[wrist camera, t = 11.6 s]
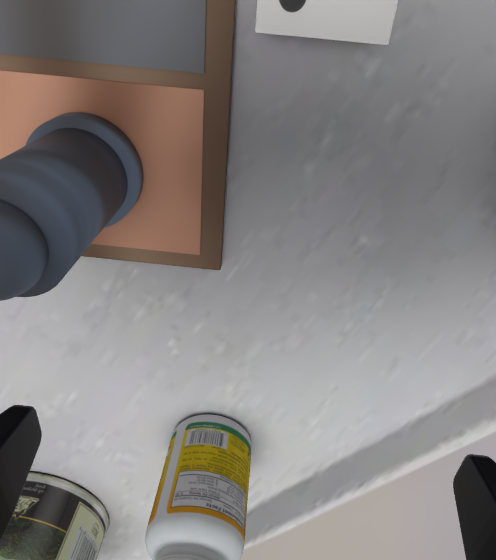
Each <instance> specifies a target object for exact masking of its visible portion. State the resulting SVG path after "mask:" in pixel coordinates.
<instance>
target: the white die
mask: <svg viewBox="0 0 496 560" xmlns="http://www.w3.org/2000/svg"><path fill="white" fill-rule="evenodd" d="M397 4H398V0H257V13H256V26H255V33H266V34H276V35H287V36H297V37H308V38H318V39H329V40H339V41H350V42H360V43H371V44H381V45H388V44H389V40H390V35H391V31H392V26H393V22H394V17H395V13H396V8H397Z"/></svg>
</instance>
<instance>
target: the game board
mask: <svg viewBox="0 0 496 560" xmlns="http://www.w3.org/2000/svg"><path fill="white" fill-rule="evenodd" d="M235 2H236V0H0V159H2V158H4V157H6V156H7V155H9V154H11V153H13V152H15V151H17V150H19V149H20V148H22V147H24V146H25V145H26V142H27V140H28V138H29V136H30V135H31V134H32V132H33V131H34V130H35V129H36V128H37V127H38V126H40V125H41V124H43V123H44V122H47V121H49V120H51V119H53V118H55V117H57V116H59V115H61V114H65V113H69V112H85V113H91V114H94V115H97V116H100V117H102V118H104V119H106V120H108V121H110V122H111V123H113V124H114V125H116V126H117V127H118V128H119V129H121V130H122V131H123V132H124V133H125V134H126V136H127V137H128V138H129V139H130V140H131V142H132V143H133V145H134V146H135V148H136V150H137V152H138V154H139V157H140V159H141V163H142V167H143V174H144V182H143V188H142V191H141V194H140V197H139V199H138V200H137V202H136V203H135V205H134V206H133V207H132V209H131V210H130V211H129V213H128V214H127V215H126V216H125V217H124V218H123V219H122V220H120V221H119V222H118V223H116V224H114V225H112V226H109V227H105V228H103V229H102V231H101V232H100V233H99V234H98V236H97V237H96V238H95V239H94V240H93V242H92V243H91V244H90V245H89V247H88V248H87V249H86V250H85V251H84V253H83V254H82V255H81V256H87V257H96V258H106V259H115V260H125V261H135V262H144V263H154V264H164V265H173V266H183V267H192V268H202V269H212V270H220V269H221V262H222V243H223V225H224V206H225V188H226V169H227V151H228V132H229V114H230V95H231V77H232V58H233V39H234V21H235Z"/></svg>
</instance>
